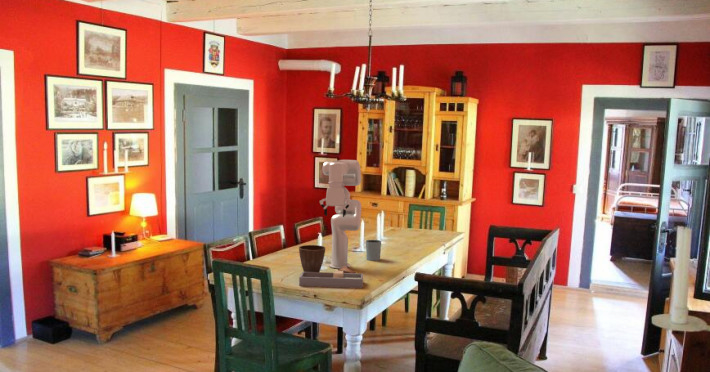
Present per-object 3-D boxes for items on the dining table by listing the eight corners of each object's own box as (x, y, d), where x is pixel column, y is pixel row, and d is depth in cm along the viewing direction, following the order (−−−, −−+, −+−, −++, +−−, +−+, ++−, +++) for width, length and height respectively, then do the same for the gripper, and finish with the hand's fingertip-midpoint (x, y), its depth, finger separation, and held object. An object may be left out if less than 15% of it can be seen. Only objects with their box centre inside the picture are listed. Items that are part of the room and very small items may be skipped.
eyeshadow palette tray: (302, 279, 306) (302, 271, 306) (362, 281, 305) (363, 273, 305) (299, 285, 295) (299, 277, 294) (362, 287, 293) (362, 279, 293)
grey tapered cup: (379, 261, 355) (380, 242, 354) (363, 260, 357) (364, 241, 356) (381, 258, 365) (382, 240, 364) (366, 257, 367) (367, 239, 366)
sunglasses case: (347, 279, 309) (341, 268, 309) (336, 285, 311) (331, 274, 311) (356, 272, 326) (351, 262, 326) (346, 277, 328) (341, 267, 328)
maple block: (333, 278, 302) (334, 270, 302) (343, 278, 302) (343, 270, 302) (333, 280, 297) (333, 272, 297) (342, 280, 297) (342, 273, 297)
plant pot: (305, 271, 326) (306, 243, 324) (329, 274, 320) (329, 246, 319) (293, 276, 312) (294, 248, 311) (318, 280, 307) (318, 251, 305)
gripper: (351, 185, 311) (350, 216, 312) (320, 184, 311) (319, 215, 312) (351, 186, 303) (350, 217, 304) (319, 185, 304) (318, 216, 305)
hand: (334, 216), depth 308 cm, fingers open, 9 cm apart
